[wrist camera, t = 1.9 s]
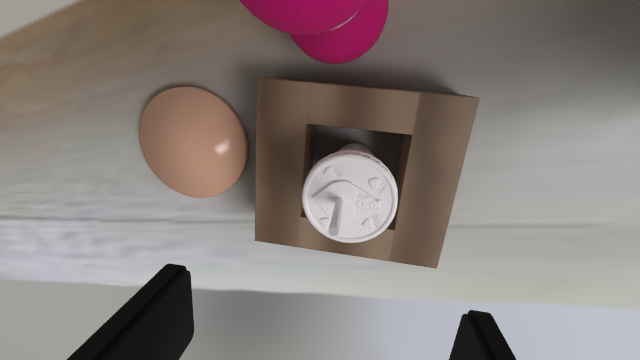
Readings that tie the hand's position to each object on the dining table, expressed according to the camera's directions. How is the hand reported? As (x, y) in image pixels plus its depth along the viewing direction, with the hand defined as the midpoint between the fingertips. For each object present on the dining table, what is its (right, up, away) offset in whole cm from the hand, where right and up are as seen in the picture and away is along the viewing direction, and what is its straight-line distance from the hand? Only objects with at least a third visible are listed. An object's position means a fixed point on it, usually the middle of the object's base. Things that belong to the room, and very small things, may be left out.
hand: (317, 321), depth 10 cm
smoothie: (+3, +7, +19) cm, 20 cm away
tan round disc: (-12, +8, +20) cm, 25 cm away
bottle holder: (+3, +6, +19) cm, 20 cm away
